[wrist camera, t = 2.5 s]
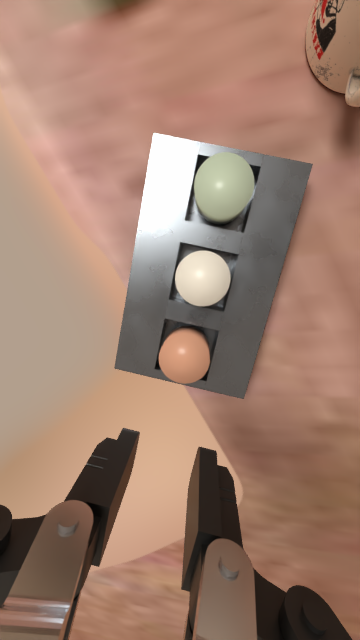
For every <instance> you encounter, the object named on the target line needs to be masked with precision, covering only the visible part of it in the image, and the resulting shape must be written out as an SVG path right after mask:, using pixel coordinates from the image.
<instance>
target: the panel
mask: <svg viewBox="0 0 360 640" xmlns="http://www.w3.org/2000/svg"><path fill="white" fill-rule="evenodd" d="M222 152H230V153H234V154H237V155H239V156H241V157H242V158H243V159H245V160H246V161H247V163H248V164H249V165H250V167H251V169H252V172H253V175H254V190H253V194H252V196H251V199H250V200H249V202H248V204H247V205H246V206H245V208H244V209H243V211H242V212H241V213H240V215H239V216H238V217H237V218H235V219H234V220H232V221H231V222H228V223H225V224H214V223H211V222H209V221H207V220H206V219H204V218H203V217H202V216H201V214H200V213H199V211H198V209H197V206H196V200H195V192H194V181H195V177H196V174H197V171H198V169H199V168H200V166H201V165H202V164H203V163H204V161H205V160H207V159H208V158H209V157H211V156H213V155H215V154H218V153H222ZM312 165H313V164H310V163H305V162H300V161H295V160H290V159H285V158H279V157H274V156H269V155H264V154H259V153H254V152H249V151H244V150H239V149H234V148H229V147H224V146H218V145H213V144H208V143H203V142H198V141H193V140H188V139H183V138H178V137H173V136H168V135H163V134H157V133H153V139H152V145H151V151H150V157H149V163H148V169H147V175H146V181H145V187H144V193H143V199H142V205H141V211H140V217H139V223H138V230H137V236H136V242H135V248H134V254H133V260H132V266H131V272H130V278H129V284H128V290H127V297H126V302H125V308H124V314H123V321H122V326H121V332H120V338H119V344H118V351H117V356H116V363H115V369H119V370H123V371H127V372H132V373H136V374H140V375H144V376H148V377H153V378H157V379H162V380H165V381H170V382H174V383H177V382H175V381H172V380H171V379H169V378H168V377H167V376H166V375H165V374H164V373H163V371H162V370H161V368H160V365H159V353H160V350H161V348H162V346H163V344H164V342H165V340H166V338H167V336H168V334H169V333H170V332H171V331H172V330H174V329H175V328H177V327H180V326H193V327H196V328H198V329H199V330H201V331H202V332H203V333H204V334H205V336H206V338H207V340H208V343H209V354H210V364H209V368H208V370H207V372H206V373H205V375H204V376H203V377H202V378H201V379H199V380H198V381H195V382H193V383H187V384H182V383H178V384H182V385H186V386H191V387H195V388H199V389H203V390H208V391H212V392H216V393H220V394H224V395H229V396H233V397H237V398H241V399H244V396H245V393H246V390H247V386H248V383H249V379H250V376H251V373H252V369H253V366H254V362H255V359H256V355H257V352H258V349H259V345H260V342H261V338H262V335H263V332H264V328H265V325H266V321H267V318H268V315H269V311H270V308H271V304H272V301H273V298H274V294H275V291H276V287H277V284H278V281H279V277H280V274H281V270H282V267H283V264H284V260H285V257H286V253H287V250H288V247H289V243H290V240H291V236H292V233H293V230H294V226H295V223H296V219H297V216H298V213H299V209H300V206H301V202H302V199H303V195H304V192H305V189H306V185H307V182H308V178H309V175H310V172H311V168H312ZM196 251H210V252H213V253H216V254H217V255H219V256H220V257H221V258H222V259H223V260H224V261H225V262H226V264H227V266H228V268H229V271H230V285H229V288H228V291H227V292H226V294H225V295H224V297H223V298H222V299H221V300H219V301H218V302H216V303H215V304H212V305H209V306H196V305H193V304H190V303H189V302H187V301H186V300H184V299H183V298H182V297H181V295H180V294H179V292H178V290H177V288H176V284H175V274H176V270H177V267H178V265H179V264H180V262H181V261H182V260H183V259H184V258H185V257H186V256H187V255H189V254H191V253H193V252H196Z"/></svg>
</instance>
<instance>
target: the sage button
mask: <svg viewBox="0 0 360 640" xmlns="http://www.w3.org/2000/svg"><path fill="white" fill-rule="evenodd" d="M253 190H254V175H253V172H252V169H251V167H250V165H249V164H248V163H247V161H246V160H245V159H243V158H242V157H241V156H239V155H237V154H234V153H230V152H222V153H218V154H215V155H213V156H211V157H209V158H208V159H207V160H205V161H204V163H203V164H202V165H201V166H200V168H199V169H198V171H197V174H196V177H195V181H194V192H195V200H196V206H197V209H198V211H199V213H200V214H201V216H202V217H203V218H204V219H206V220H207V221H209V222H211V223H214V224H225V223H228V222H231V221H232V220H234V219H235V218H237V217H238V216H239V215H240V213H241V212H242V211H243V209H244V208H245V206H246V205H247V204H248V202H249V200H250V199H251V196H252V194H253Z"/></svg>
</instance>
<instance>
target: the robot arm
mask: <svg viewBox="0 0 360 640" xmlns="http://www.w3.org/2000/svg"><path fill="white" fill-rule="evenodd" d="M139 434H140V432H137V431H134V430H130V429H126V428H123V429H122V431H121V433H120V435H119V437H118V439H117V440H115V439H111V438H106V439H105V440H104V441H102V442H101V443H99V444H98V445H97V447H96V448H95V450H94V452H93V453H92V455H91V457H90V458H89V460H88V462H87V464H86V465H85V467H84V469H83V470H82V472H81V474H80V475H79V477H78V479H77V480H76V482H75V484H74V486H73V487H72V489H71V491H70V492H69V494H68V496H67V497H66V499H65V501H64V502H62V503H60V504H58V505H56V506H55V507H53V508H52V509H51V510H50V511H49V512H48V513H47V514H46V515H43V516H40V517H35V518H24V519H12V514H11V512H10V510H9V509H8V508H7V507H5V506H3V505H0V640H69V638H70V634H71V630H72V626H73V622H74V618H75V614H76V610H77V606H78V603H79V599H80V595H81V590H82V588H83V585H84V583H85V580H86V578H87V575H88V572H89V569H90V567H91V565H94V566H98V567H99V565H100V562H101V560H102V557H103V554H104V551H105V548H106V545H107V542H108V539H109V536H110V534H111V531H112V528H113V525H114V522H115V519H116V516H117V513H118V510H119V508H120V505H121V502H122V499H123V496H124V493H125V490H126V487H127V484H128V482H129V479H130V475H131V472H132V468H133V464H134V459H135V455H136V450H137V444H138V440H139ZM181 589H182V590H186V591H189V592H190V601H189V610H188V614H187V617H186V621H185V628H184V634H183V640H352V639H351V637H350V636H349V634H348V633H347V631H346V630H345V628H344V627H343V625H342V624H341V623H340V621H339V620H338V618H337V617H336V615H335V614H334V612H333V611H332V609H331V608H330V607H329V605H328V604H327V603H326V602H325V601H324V600H323V599H322V598H321V597H320V596H319V595H318V594H317V593H315V592H314V591H312V590H311V589H309V588H307V587H304V586H299V585H296V586H292V587H291V588H289V590H288V591H287V593H286V592H284V591H283V590H281V589H280V588H278V587H277V586H275V585H274V584H272V583H270V582H269V581H267V580H266V579H265V578H263V577H262V576H261V575H260V574H259V573H258V572H257V571H256V570H255V569H254V568H253V566H252V563H251V561H250V559H249V557H248V555H247V554H246V552H245V551H244V549H243V544H242V537H241V530H240V523H239V516H238V509H237V504H236V495H235V488H234V481H233V478H232V476H231V474H230V473H229V471H228V469H227V467H223V466H219V465H217V453H216V451H214V450H210V449H206V448H202V447H199V448H198V451H197V454H196V458H195V462H194V466H193V469H192V473H191V477H190V482H189V488H188V499H187V513H186V528H185V543H184V558H183V573H182V587H181Z"/></svg>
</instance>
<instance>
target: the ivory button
mask: <svg viewBox="0 0 360 640" xmlns="http://www.w3.org/2000/svg"><path fill="white" fill-rule="evenodd" d="M175 284H176V288H177V290H178V292H179V294H180V295H181V297H182V298H183V299H184V300H186V301H187V302H189V303H190V304H193V305H196V306H209V305H212V304H215V303H216V302H218V301H219V300H221V299H222V298H223V297H224V295H225V294H226V292H227V291H228V288H229V285H230V271H229V268H228V266H227V264H226V262H225V261H224V260H223V259H222V258H221V257H220V256H219V255H217V254H216V253H213V252H210V251H196V252H193V253H191V254H189V255H187V256H186V257H185V258H184V259H183V260H182V261H181V262H180V264H179V265H178V267H177V270H176V274H175Z"/></svg>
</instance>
